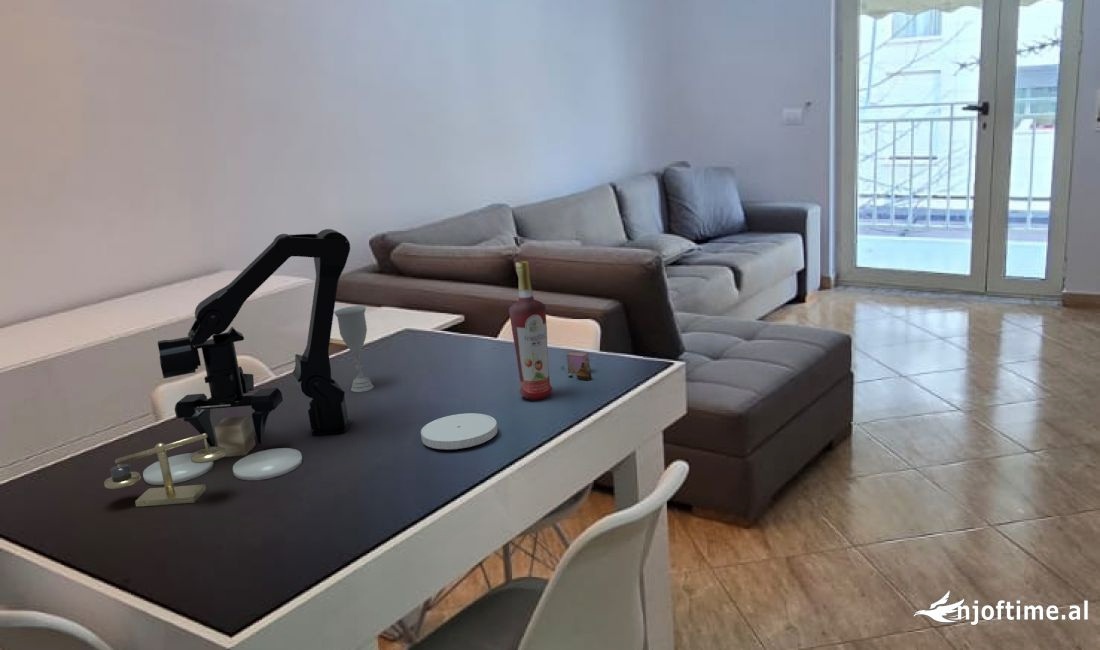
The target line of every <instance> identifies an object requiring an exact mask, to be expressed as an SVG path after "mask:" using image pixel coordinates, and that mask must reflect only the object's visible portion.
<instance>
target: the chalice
mask: <svg viewBox="0 0 1100 650" xmlns="http://www.w3.org/2000/svg"><path fill="white" fill-rule="evenodd" d="M366 310H367V307H366V306H365V305H353V306H352V305H351V306H347V307H342V308H339V309H337V310H334V315H335V316H336V317H337V323H338V328H339V329H338V330H339V334H340V337H341V339H342V340H343V343H344V344H345V346H346V347H348V349H349V351H351V352H354V362H355V363H356V365H355V370H356V372H357V375H356V377H355V378H353V381H352V385H351V386H352V387H351V388H350V391H351V392H354V393H360V392H361V393H362V392H366V391H371V390H372V389H373V388H374V384H372V381H371V380H370V378H369V377H368V376H366V375H364V374H363V372H362V371H363V367H364V366H363V365H362V364H361V360H362V358H361V356H360V351H361V350H363V347H364V344H365V341H366V337H367V331H368V328H367V321H366V320H367V319H366V315H365V314H366V313H365V312H366Z"/></svg>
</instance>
